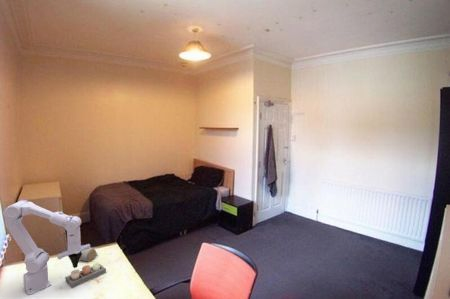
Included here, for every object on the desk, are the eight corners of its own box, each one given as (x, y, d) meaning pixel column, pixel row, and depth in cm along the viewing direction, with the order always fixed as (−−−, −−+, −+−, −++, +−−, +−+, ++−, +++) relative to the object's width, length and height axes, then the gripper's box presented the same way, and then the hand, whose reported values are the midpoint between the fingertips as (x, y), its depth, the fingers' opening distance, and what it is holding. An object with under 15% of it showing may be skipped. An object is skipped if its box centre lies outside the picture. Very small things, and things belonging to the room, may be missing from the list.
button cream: (73, 282, 123) (72, 274, 123) (70, 279, 126) (70, 271, 125) (80, 278, 126) (80, 271, 126) (77, 276, 128) (77, 268, 128)
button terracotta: (84, 277, 127) (83, 269, 127) (81, 274, 130) (80, 267, 129) (91, 274, 130) (91, 266, 130) (88, 271, 132) (88, 264, 132)
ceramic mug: (87, 263, 143) (87, 250, 142) (76, 261, 145) (75, 249, 144) (100, 255, 153) (100, 243, 153) (89, 253, 155) (89, 241, 155)
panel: (71, 288, 121) (71, 283, 121) (65, 281, 126) (65, 277, 126) (106, 272, 134) (105, 268, 134) (99, 267, 139) (99, 263, 139)
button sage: (94, 275, 132) (94, 268, 131) (91, 272, 134) (91, 265, 133) (101, 272, 134) (101, 265, 134) (98, 269, 137) (98, 263, 136)
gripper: (60, 249, 116) (61, 276, 117) (92, 238, 127) (93, 263, 128) (55, 244, 120) (56, 270, 121) (86, 234, 132) (87, 259, 133)
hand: (75, 266), depth 125 cm, fingers closed
